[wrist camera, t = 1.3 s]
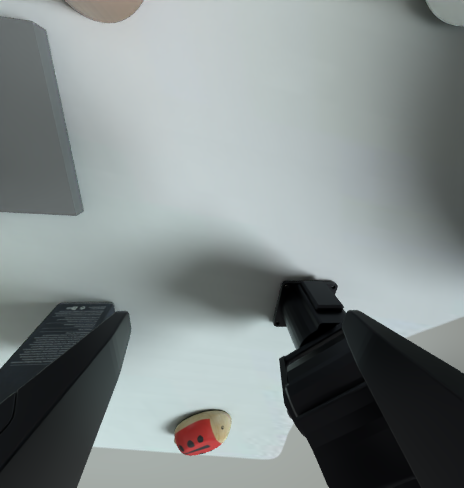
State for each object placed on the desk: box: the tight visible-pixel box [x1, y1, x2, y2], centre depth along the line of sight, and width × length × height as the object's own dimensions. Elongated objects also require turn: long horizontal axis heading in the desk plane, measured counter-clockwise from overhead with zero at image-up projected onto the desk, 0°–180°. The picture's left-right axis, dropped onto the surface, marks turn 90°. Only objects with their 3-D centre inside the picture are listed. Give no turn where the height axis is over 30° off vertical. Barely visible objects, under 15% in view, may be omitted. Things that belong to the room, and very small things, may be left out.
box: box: [0, 302, 115, 403], centre depth 20 cm, size 8×6×11 cm
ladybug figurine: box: [174, 411, 231, 456], centre depth 34 cm, size 7×10×4 cm
